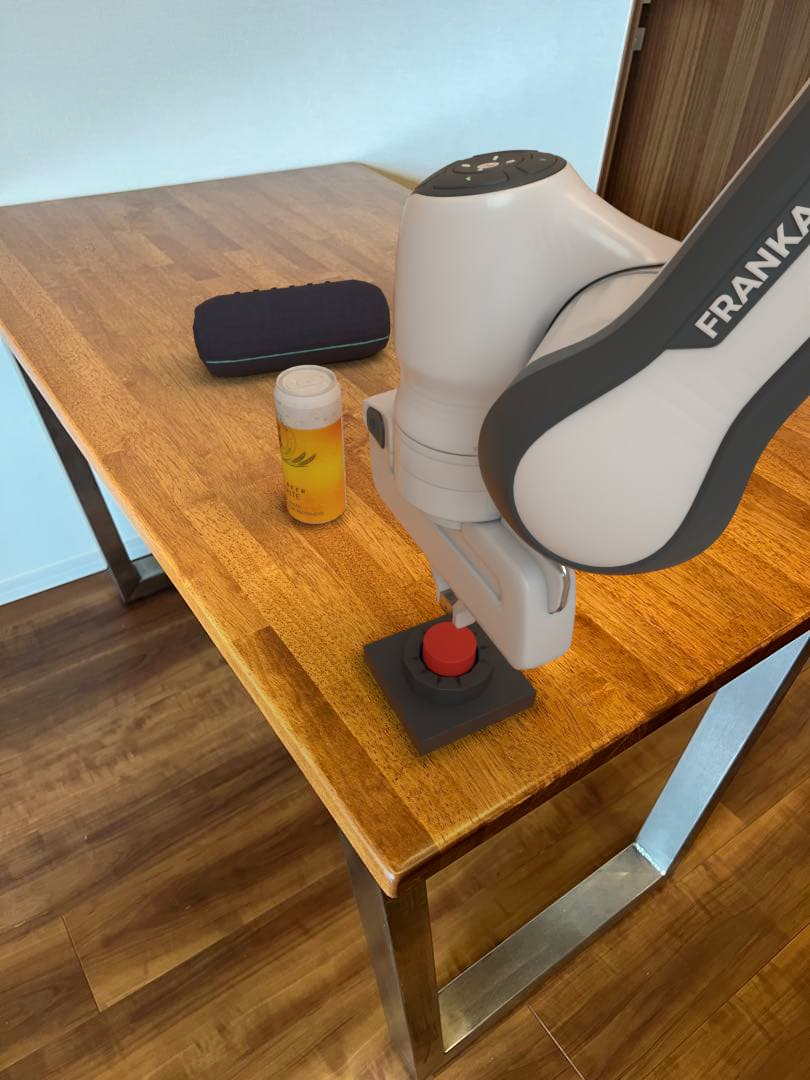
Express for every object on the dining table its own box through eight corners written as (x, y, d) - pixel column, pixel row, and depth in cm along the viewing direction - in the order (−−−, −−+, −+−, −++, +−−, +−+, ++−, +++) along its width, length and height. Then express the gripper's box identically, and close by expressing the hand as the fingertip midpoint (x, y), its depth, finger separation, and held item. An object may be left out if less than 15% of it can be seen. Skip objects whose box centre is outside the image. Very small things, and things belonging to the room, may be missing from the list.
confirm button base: (533, 708, 57) (540, 676, 54) (420, 759, 53) (422, 728, 51) (468, 622, 64) (471, 590, 61) (363, 662, 60) (362, 630, 57)
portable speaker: (375, 334, 104) (374, 264, 97) (396, 367, 97) (397, 294, 90) (196, 359, 98) (182, 286, 91) (205, 395, 91) (191, 320, 84)
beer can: (281, 498, 76) (264, 368, 66) (337, 486, 78) (329, 358, 68) (296, 535, 72) (280, 402, 62) (355, 521, 73) (349, 390, 63)
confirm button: (484, 665, 55) (486, 650, 54) (438, 684, 54) (439, 669, 53) (458, 629, 58) (459, 615, 57) (413, 647, 57) (414, 632, 56)
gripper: (623, 542, 38) (580, 703, 47) (432, 369, 51) (428, 520, 60) (521, 581, 35) (496, 741, 45) (350, 389, 49) (358, 542, 58)
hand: (456, 612), depth 53 cm, fingers closed
